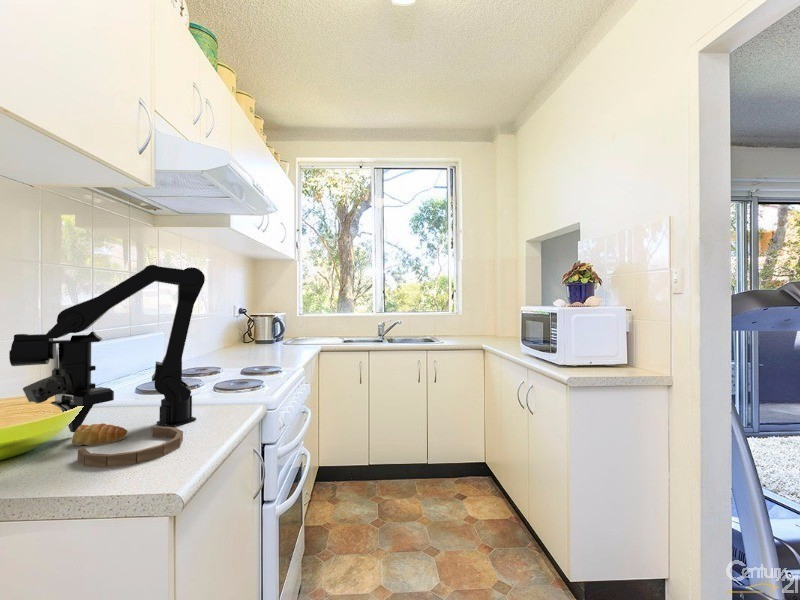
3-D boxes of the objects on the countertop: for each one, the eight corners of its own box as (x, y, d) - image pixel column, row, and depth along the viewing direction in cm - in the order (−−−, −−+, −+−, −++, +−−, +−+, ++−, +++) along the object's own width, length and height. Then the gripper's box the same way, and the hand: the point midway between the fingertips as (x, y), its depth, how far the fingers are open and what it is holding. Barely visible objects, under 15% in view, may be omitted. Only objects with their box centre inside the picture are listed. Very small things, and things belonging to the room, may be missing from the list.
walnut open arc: (160, 433, 89) (160, 424, 89) (202, 441, 84) (202, 432, 84) (70, 462, 73) (70, 451, 73) (115, 473, 68) (115, 462, 68)
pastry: (132, 434, 89) (132, 418, 89) (118, 445, 83) (118, 427, 83) (85, 438, 87) (85, 421, 87) (67, 449, 80) (67, 430, 81)
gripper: (6, 365, 84) (5, 437, 84) (56, 370, 77) (55, 449, 76) (66, 358, 94) (66, 423, 94) (115, 363, 87) (115, 432, 87)
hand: (74, 431), depth 87 cm, fingers closed
